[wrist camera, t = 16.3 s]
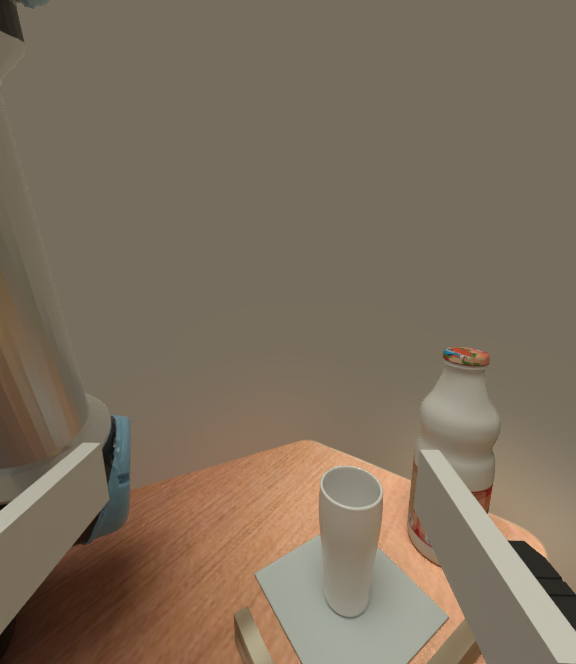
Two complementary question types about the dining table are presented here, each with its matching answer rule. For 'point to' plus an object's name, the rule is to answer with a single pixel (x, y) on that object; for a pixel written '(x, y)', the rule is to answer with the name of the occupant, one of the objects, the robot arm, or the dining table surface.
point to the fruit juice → (458, 431)
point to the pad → (349, 632)
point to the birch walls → (449, 660)
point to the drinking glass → (349, 536)
